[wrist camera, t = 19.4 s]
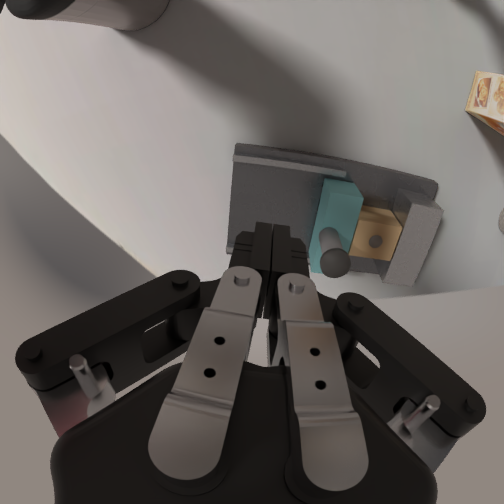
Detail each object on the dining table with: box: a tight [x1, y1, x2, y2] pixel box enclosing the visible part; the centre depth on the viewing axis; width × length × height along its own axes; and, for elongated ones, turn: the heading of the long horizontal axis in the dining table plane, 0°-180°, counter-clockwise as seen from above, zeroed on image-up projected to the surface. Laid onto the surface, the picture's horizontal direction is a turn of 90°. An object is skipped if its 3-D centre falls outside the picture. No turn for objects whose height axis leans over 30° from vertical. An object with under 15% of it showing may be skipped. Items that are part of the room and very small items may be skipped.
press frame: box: [226, 143, 444, 286], centre depth 39 cm, size 28×16×6 cm, turn 84°
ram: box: [309, 178, 364, 278], centre depth 35 cm, size 5×11×11 cm, turn 174°
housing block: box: [348, 205, 402, 261], centre depth 38 cm, size 6×5×5 cm
